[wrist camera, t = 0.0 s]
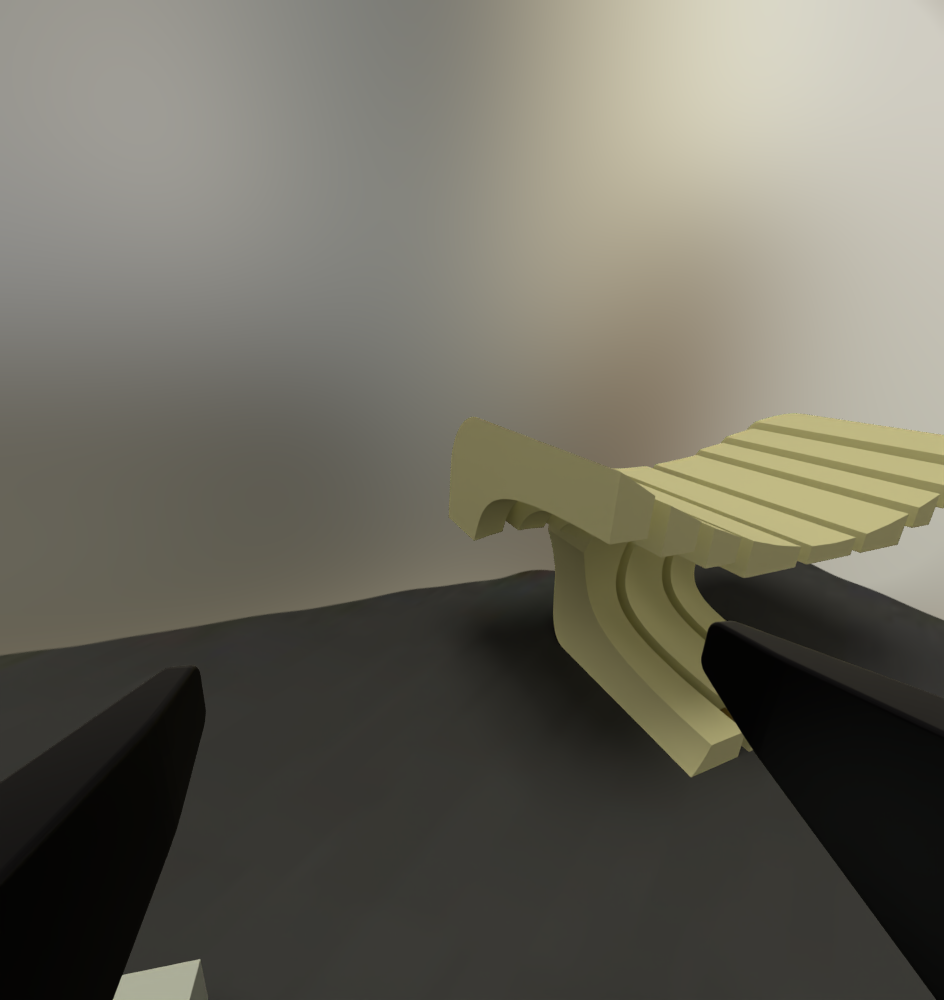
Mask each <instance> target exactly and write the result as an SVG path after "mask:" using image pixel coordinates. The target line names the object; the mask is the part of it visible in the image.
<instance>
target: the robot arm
mask: <svg viewBox="0 0 944 1000" xmlns="http://www.w3.org/2000/svg"><path fill="white" fill-rule="evenodd" d="M701 664H702V668H703V671H704V672H705V674H706V676H707V677H708V679H709V681H710V682H711V684H712V686H713V687H714V689H715V690H716V692H717V694H718V695H719V697H720V699H721V700H722V702H723V703H724V705H725V707H726V708H727V710H728V712H729V713H730V715H731V716H732V718H733V720H734V721H735V723H736V725H737V726H738V728H739V729H740V731H741V733H742V734H743V736H744V737H745V739H746V740H747V742H748V743H749V745H750V746H751V748H752V749H753V751H754V752H755V753H756V755H757V756H758V758H759V759H760V760H761V762H762V763H763V765H764V766H765V767H766V769H767V770H768V771H769V773H770V774H771V775H772V777H773V778H774V779H775V781H776V782H777V784H778V785H779V786H780V788H781V789H782V790H783V792H784V793H785V794H786V796H787V797H788V799H789V800H790V801H791V803H792V804H793V805H794V807H795V808H796V809H797V811H798V812H799V814H800V815H801V816H802V818H803V819H804V820H805V822H806V823H807V824H808V826H809V827H810V828H811V830H812V831H813V833H814V834H815V835H816V837H817V838H818V839H819V841H820V842H821V843H822V845H823V846H824V848H825V849H826V850H827V852H828V853H829V854H830V856H831V857H832V858H833V860H834V861H835V863H836V864H837V865H838V867H839V868H840V869H841V871H842V872H843V873H844V875H845V876H846V877H847V879H848V880H849V882H850V883H851V884H852V886H853V887H854V888H855V890H856V891H857V892H858V894H859V895H860V897H861V898H862V899H863V901H864V902H865V903H866V905H867V906H868V907H869V909H870V910H871V912H872V913H873V914H874V916H875V917H876V918H877V920H878V921H879V922H880V924H881V925H882V926H883V928H884V929H885V931H886V932H887V933H888V935H889V936H890V937H891V939H892V940H893V941H894V943H895V944H896V946H897V947H898V948H899V950H900V951H901V952H902V954H903V955H904V956H905V958H906V959H907V960H908V962H909V963H910V965H911V966H912V967H913V969H914V970H915V971H916V973H917V974H918V975H919V977H920V978H921V980H922V981H923V982H924V984H925V985H926V986H927V988H928V989H929V990H930V992H931V993H932V995H933V996H934V997H935V999H936V1000H944V698H942V697H940V696H937V695H934V694H931V693H929V692H926V691H923V690H921V689H918V688H915V687H912V686H910V685H907V684H904V683H902V682H899V681H896V680H893V679H891V678H888V677H885V676H882V675H880V674H877V673H874V672H872V671H869V670H866V669H863V668H861V667H858V666H855V665H853V664H850V663H847V662H844V661H842V660H839V659H836V658H833V657H831V656H828V655H825V654H823V653H820V652H817V651H814V650H812V649H809V648H806V647H804V646H801V645H798V644H795V643H793V642H790V641H787V640H784V639H782V638H779V637H776V636H774V635H771V634H768V633H765V632H763V631H760V630H757V629H755V628H752V627H749V626H746V625H744V624H741V623H738V622H735V621H721V622H714V623H712V624H711V625H710V626H709V628H708V631H707V635H706V640H705V644H704V648H703V652H702V656H701ZM205 716H206V709H205V702H204V695H203V688H202V682H201V675H200V671H199V669H198V667H196V666H194V665H187V666H174V667H167V668H165V669H163V670H162V671H160V672H159V673H157V674H156V675H154V676H153V677H152V678H150V679H149V680H147V681H146V682H144V683H143V684H141V685H140V686H139V687H137V688H136V689H134V690H133V691H131V692H130V693H128V694H127V695H126V696H124V697H123V698H121V699H120V700H118V701H117V702H115V703H114V704H113V705H111V706H110V707H108V708H107V709H105V710H104V711H102V712H101V713H100V714H98V715H97V716H95V717H94V718H92V719H91V720H89V721H88V722H87V723H85V724H84V725H82V726H81V727H79V728H78V729H76V730H75V731H74V732H72V733H71V734H69V735H68V736H66V737H65V738H63V739H62V740H61V741H59V742H58V743H56V744H55V745H53V746H52V747H50V748H49V749H48V750H46V751H45V752H43V753H42V754H40V755H39V756H37V757H36V758H35V759H33V760H32V761H30V762H29V763H27V764H26V765H24V766H23V767H22V768H20V769H19V770H17V771H16V772H14V773H13V774H11V775H10V776H9V777H7V778H6V779H4V780H3V781H1V782H0V1000H113V998H114V996H115V993H116V990H117V988H118V985H119V983H120V980H121V977H122V975H123V972H124V969H125V967H126V964H127V961H128V959H129V956H130V953H131V951H132V948H133V945H134V943H135V940H136V937H137V935H138V932H139V929H140V927H141V924H142V921H143V919H144V916H145V913H146V911H147V908H148V906H149V903H150V900H151V898H152V895H153V892H154V890H155V887H156V884H157V882H158V879H159V876H160V874H161V871H162V868H163V866H164V863H165V860H166V858H167V855H168V852H169V850H170V847H171V844H172V841H173V838H174V835H175V833H176V830H177V826H178V823H179V819H180V816H181V812H182V808H183V804H184V801H185V797H186V793H187V789H188V785H189V781H190V778H191V774H192V770H193V766H194V762H195V759H196V755H197V751H198V747H199V743H200V739H201V736H202V732H203V728H204V724H205Z"/></svg>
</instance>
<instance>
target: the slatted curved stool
mask: <svg viewBox="0 0 944 1000" xmlns="http://www.w3.org/2000/svg"><path fill="white" fill-rule="evenodd" d="M935 507H939V508H944V435H940V434H933V433H927V432H920V431H912V430H906V429H900V428H893V427H886V426H880V425H873V424H866V423H860V422H853V421H846V420H840V419H833V418H826V417H819V416H813V415H806V414H797V413H796V414H795V413H793V414H783V415H778V416H773V417H769V418H766V419H762V420H759V421H756V422H755V423H754V424H752V425H751V426H750V427H749V428H748V429H747V430H746V431H743V432H739V433H736V434H733V435H730V436H727V437H726V438H725V439H724V440H723V441H722V442H721V444H717V445H714V446H711V447H707V448H704V449H701V450H699V451H698V453H697V454H696V455H695V456H692V457H687V458H683V459H679V460H675V461H670V462H666V463H660V464H656V465H655V466H654V467H653V468H650V467H647V466H643V467H634V468H620V469H611V468H609V467H607V466H604V465H601V464H599V463H596V462H593V461H590V460H588V459H585V458H583V457H580V456H577V455H575V454H572V453H569V452H567V451H564V450H562V449H559V448H556V447H554V446H551V445H548V444H546V443H543V442H540V441H537V440H535V439H533V438H530V437H527V436H525V435H522V434H519V433H517V432H514V431H511V430H509V429H506V428H503V427H501V426H498V425H495V424H493V423H490V422H488V421H485V420H482V419H480V418H477V417H471V418H468V419H466V420H465V421H464V422H463V424H462V425H461V426H460V428H459V430H458V432H457V435H456V437H455V441H454V445H453V450H452V459H451V477H450V500H449V518H450V519H451V520H452V521H453V522H455V523H456V524H457V525H458V526H459V527H460V528H461V529H462V530H463V531H464V532H465V533H466V534H467V535H468V536H469V537H471V538H472V539H473V540H474V541H475V540H478V539H481V538H484V537H486V536H489V535H492V534H496V533H499V532H502V531H503V527H504V524H505V521H507V522H508V523H509V524H511V525H512V526H513V527H515V528H516V529H518V530H523V529H530V528H542V527H544V526H545V524H546V523H548V524H549V527H548V531H549V534H550V538H551V542H552V547H553V553H554V561H555V585H554V603H553V620H554V629H555V634H556V637H557V639H558V642H559V643H560V645H561V646H562V647H563V649H564V650H565V651H566V652H567V653H568V654H569V655H570V656H571V657H572V658H573V659H574V660H575V661H576V662H577V663H578V664H579V665H580V666H581V667H582V668H583V669H584V670H585V671H586V672H587V673H588V674H589V675H590V676H591V677H592V678H593V679H594V680H595V681H596V682H597V683H598V684H599V685H600V686H601V687H602V688H603V689H604V690H605V691H606V692H607V693H608V694H609V695H610V696H611V697H612V698H613V699H614V700H615V701H616V702H617V703H618V704H619V705H620V706H621V707H622V708H623V709H624V710H625V711H626V712H627V713H628V714H629V715H630V716H631V717H632V718H633V719H634V720H635V721H636V722H637V723H638V724H639V725H640V726H641V727H642V728H643V729H644V730H645V731H646V732H647V733H648V734H649V735H650V736H651V737H652V738H653V739H654V740H655V741H656V742H657V743H658V744H659V745H660V746H661V747H662V748H663V749H664V750H665V751H666V753H667V754H668V755H669V756H670V757H671V758H672V759H673V760H674V761H675V762H676V763H677V764H678V765H679V766H680V767H681V768H682V769H683V770H684V771H685V772H686V773H687V774H688V775H689V776H690V777H693V776H696V775H698V774H700V773H702V772H705V771H707V770H709V769H711V768H714V767H716V766H718V765H720V764H723V763H725V762H727V761H729V760H732V759H734V758H736V757H738V755H739V751H740V748H741V746H742V747H744V748H745V749H746V750H747V751H748V752H750V751H752V750H753V749H752V748H751V746H750V745H749V743H748V742H747V740H746V739H745V737H744V736H743V734H742V733H741V731H740V729H739V728H738V726H737V725H736V723H735V721H734V720H733V718H732V716H731V715H730V713H729V712H728V710H727V708H726V707H725V705H724V703H723V702H722V700H721V699H720V697H719V695H718V694H717V692H716V690H715V689H714V687H713V686H712V684H711V682H710V681H709V679H708V677H707V676H706V674H705V672H704V671H703V668H702V664H701V656H702V652H703V648H704V644H705V640H706V635H707V631H708V628H709V626H710V625H711V624H712V623H714V622H721V621H726V620H724V619H723V618H722V617H721V616H720V615H719V614H718V613H717V612H716V611H715V610H714V609H712V608H711V607H710V605H709V604H708V603H707V602H706V601H705V600H704V598H703V597H702V595H701V594H700V592H699V590H698V588H697V586H696V583H695V579H694V569H695V564H697V565H699V566H701V567H703V568H705V569H706V568H711V567H716V566H719V567H721V568H723V569H726V570H728V571H730V572H732V573H734V574H736V575H738V576H740V577H742V578H748V577H752V576H757V575H761V574H766V573H770V572H775V571H780V570H784V569H789V568H793V567H795V566H796V562H797V561H799V562H802V563H804V564H811V563H816V562H821V561H825V560H830V559H834V558H839V557H843V556H848V555H850V554H851V551H852V550H854V551H857V552H859V553H861V552H866V551H871V550H875V549H880V548H884V547H889V546H893V545H897V544H898V542H899V539H900V537H901V534H902V531H903V529H904V526H907V527H911V528H913V527H919V526H924V525H928V524H929V522H930V520H931V517H932V515H933V512H934V509H935Z"/></svg>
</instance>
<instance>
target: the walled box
mask: <svg viewBox="0 0 944 1000" xmlns="http://www.w3.org/2000/svg"><path fill="white" fill-rule="evenodd" d="M113 1000H208V995H207V990H206V985H205V980H204V975H203V970H202V965H201V960H200V959H199V960H194V961H189V962H184V963H179V964H175V965H170V966H165V967H160V968H155V969H150V970H145V971H140V972H136V973H131V974H126V975H122V977H121V980H120V983H119V985H118V988H117V990H116V993H115V996H114V998H113Z"/></svg>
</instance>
